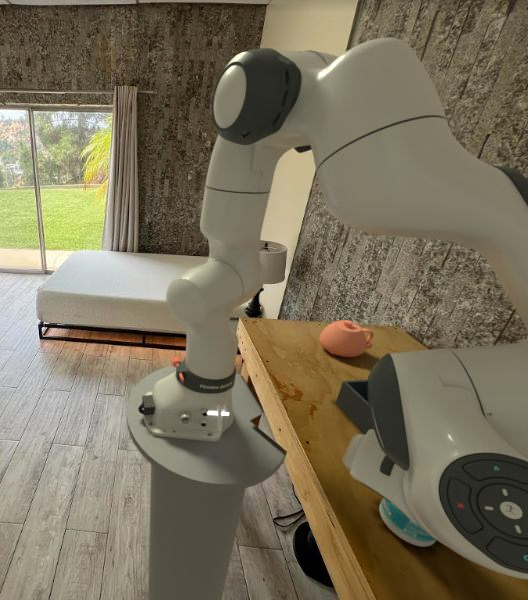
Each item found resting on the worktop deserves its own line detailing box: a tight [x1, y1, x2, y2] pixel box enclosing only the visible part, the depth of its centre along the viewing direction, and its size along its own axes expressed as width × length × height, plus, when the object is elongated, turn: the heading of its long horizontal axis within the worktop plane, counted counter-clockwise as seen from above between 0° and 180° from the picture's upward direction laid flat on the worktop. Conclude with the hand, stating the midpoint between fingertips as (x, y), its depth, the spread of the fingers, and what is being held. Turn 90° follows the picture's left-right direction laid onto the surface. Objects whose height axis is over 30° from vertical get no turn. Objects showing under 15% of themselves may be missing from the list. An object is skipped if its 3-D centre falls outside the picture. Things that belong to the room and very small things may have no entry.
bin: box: [335, 379, 374, 435], centre depth 72 cm, size 12×12×7 cm
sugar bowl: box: [318, 319, 375, 358], centre depth 97 cm, size 12×14×10 cm
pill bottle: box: [378, 497, 437, 548], centre depth 50 cm, size 8×7×14 cm
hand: (432, 498), depth 43 cm, fingers open, 8 cm apart
